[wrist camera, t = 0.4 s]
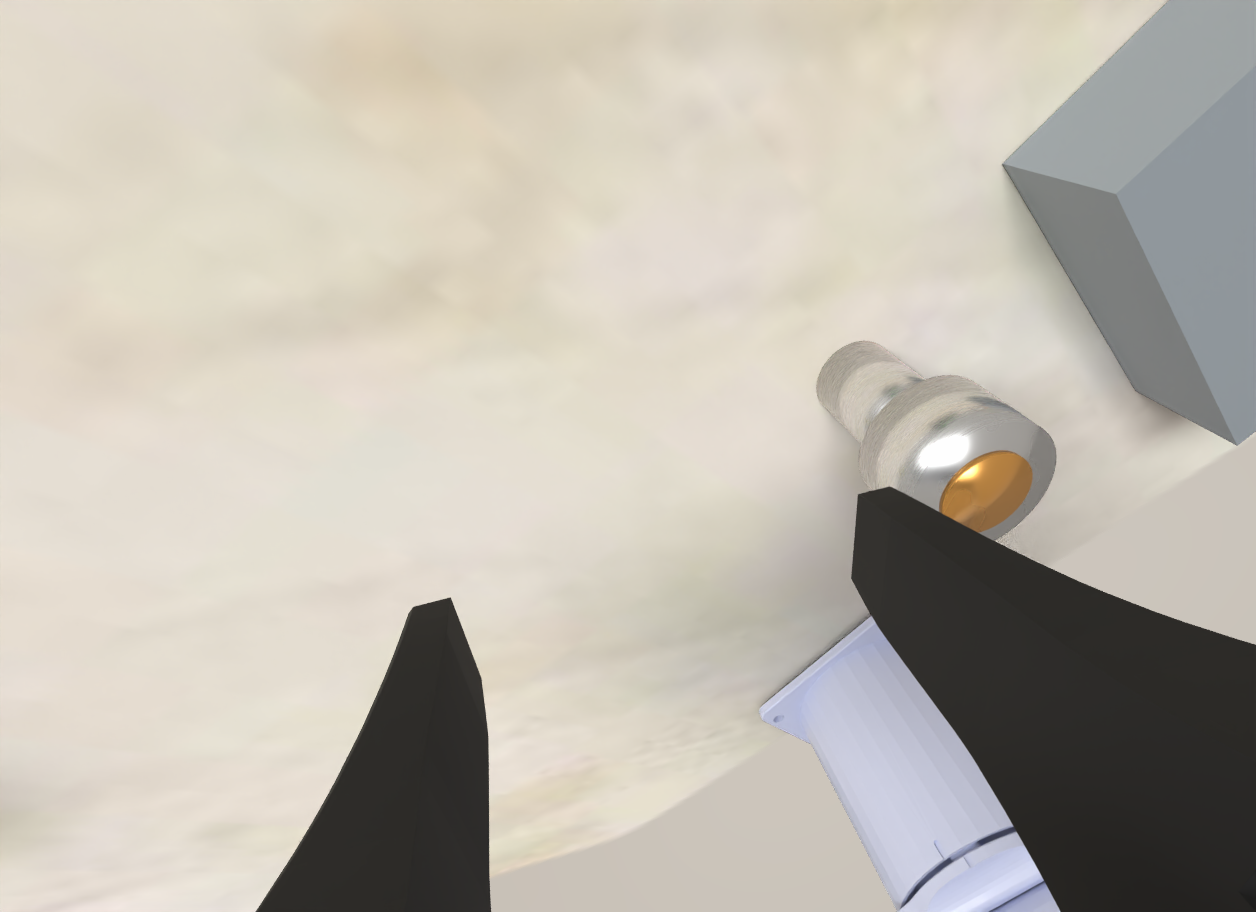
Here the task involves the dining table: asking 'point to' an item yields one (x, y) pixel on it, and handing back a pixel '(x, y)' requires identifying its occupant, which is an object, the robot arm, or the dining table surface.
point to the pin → (938, 439)
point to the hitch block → (1163, 207)
